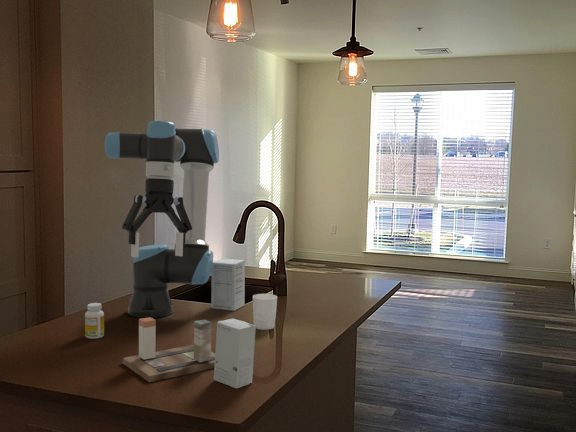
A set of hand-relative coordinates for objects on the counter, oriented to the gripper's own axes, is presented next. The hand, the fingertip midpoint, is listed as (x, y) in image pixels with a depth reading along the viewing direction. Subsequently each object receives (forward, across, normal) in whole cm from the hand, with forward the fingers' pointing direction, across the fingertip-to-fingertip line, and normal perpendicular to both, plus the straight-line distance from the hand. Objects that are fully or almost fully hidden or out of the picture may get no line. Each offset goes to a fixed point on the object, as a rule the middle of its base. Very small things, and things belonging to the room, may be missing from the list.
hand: (157, 256), depth 169 cm
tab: (+26, -5, -5) cm, 27 cm away
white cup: (+24, +42, +4) cm, 49 cm away
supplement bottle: (+26, -5, +26) cm, 37 cm away
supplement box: (+22, +48, +32) cm, 61 cm away
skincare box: (+29, +6, -28) cm, 41 cm away
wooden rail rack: (+28, +1, -9) cm, 29 cm away
